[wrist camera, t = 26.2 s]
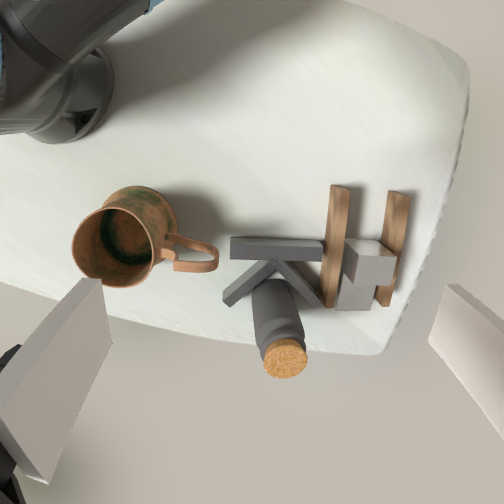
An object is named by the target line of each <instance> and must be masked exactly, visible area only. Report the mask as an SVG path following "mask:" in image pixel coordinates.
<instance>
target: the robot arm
mask: <svg viewBox="0 0 504 504" xmlns="http://www.w3.org/2000/svg"><path fill="white" fill-rule="evenodd" d="M162 1H164V0H0V135H3V134H14V133H26V134H28V135H29V136H31V137H33V138H34V139H36V140H38V141H40V142H43V143H47V144H63V143H69V142H72V141H75V140H77V139H79V138H81V137H83V136H84V135H86V134H87V133H88V132H89V131H91V130H92V129H93V128H94V127H95V126H96V124H97V123H98V122H99V121H100V119H101V118H102V116H103V115H104V113H105V111H106V109H107V107H108V105H109V102H110V99H111V95H112V91H113V71H112V67H111V64H110V61H109V59H108V58H107V56H106V55H105V53H104V52H103V51H102V50H101V49H99V48H98V47H99V46H100V45H101V44H102V43H104V42H105V41H106V40H108V39H109V38H110V37H112V36H113V35H114V34H116V33H117V32H118V31H120V30H121V29H122V28H124V27H125V26H127V25H128V24H130V23H131V22H133V21H134V20H135V19H137V18H138V17H140V16H141V15H146V14H148V13H149V12H150V11H151V10H152V9H153V7H155V6H156V5H158V4H159V3H161V2H162ZM428 342H429V344H430V345H431V346H432V347H433V348H434V350H435V351H436V352H437V353H438V354H439V356H440V357H441V358H442V359H443V361H444V362H445V363H446V364H447V366H448V367H449V368H450V369H451V371H452V372H453V373H454V374H455V376H456V377H457V378H458V379H459V381H460V382H461V383H462V385H463V386H464V387H465V388H466V390H467V391H468V392H469V394H470V395H471V396H472V398H473V399H474V400H475V401H476V403H477V404H478V406H479V407H480V408H481V410H482V411H483V412H484V414H485V415H486V416H487V418H488V419H489V421H490V422H491V423H492V425H493V426H494V428H495V429H496V430H497V432H498V433H499V435H500V436H501V438H502V439H503V440H504V321H503V320H502V319H501V318H500V317H499V316H498V315H496V314H495V313H494V312H492V311H491V310H490V309H489V308H488V307H487V306H485V305H484V304H483V303H482V302H480V301H479V300H478V299H477V298H476V297H474V296H473V295H472V294H471V293H469V292H468V291H467V290H465V289H464V288H463V287H462V286H460V285H459V284H450V285H445V289H444V293H443V296H442V299H441V303H440V306H439V309H438V312H437V315H436V318H435V321H434V324H433V327H432V330H431V333H430V336H429V339H428ZM111 345H112V339H111V334H110V329H109V324H108V318H107V313H106V307H105V301H104V295H103V289H102V282H101V279H93V278H82V279H81V280H80V281H79V282H78V283H77V284H76V285H75V286H74V287H73V288H72V289H71V291H70V292H69V293H68V294H67V295H66V296H65V297H64V298H63V299H62V300H61V301H60V302H59V304H58V305H57V306H56V307H55V308H54V309H53V310H52V311H51V312H50V313H49V315H48V316H47V317H46V318H45V319H44V320H43V322H42V323H41V324H40V325H39V326H38V327H37V329H36V330H35V331H34V332H33V333H32V334H31V335H30V337H29V338H28V339H27V340H26V341H25V343H24V344H23V345H19V344H17V345H16V346H14V347H13V348H12V349H10V350H8V351H7V352H5V353H4V355H3V356H2V357H1V358H0V504H26V503H25V500H24V497H23V494H22V492H21V489H20V486H19V483H18V480H17V478H16V476H15V475H14V473H13V471H14V468H15V466H16V464H17V465H18V467H19V468H20V469H21V470H22V472H23V473H24V474H25V475H26V476H28V477H30V478H33V479H35V480H38V481H40V482H43V483H46V484H50V481H51V478H52V476H53V473H54V470H55V468H56V465H57V463H58V460H59V458H60V455H61V453H62V451H63V448H64V446H65V443H66V441H67V439H68V436H69V434H70V432H71V429H72V427H73V425H74V422H75V420H76V418H77V416H78V413H79V411H80V409H81V407H82V404H83V403H84V401H85V398H86V396H87V394H88V392H89V390H90V388H91V385H92V384H93V381H94V379H95V377H96V375H97V373H98V371H99V369H100V367H101V365H102V363H103V361H104V359H105V357H106V355H107V353H108V351H109V349H110V347H111Z"/></svg>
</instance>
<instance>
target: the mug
mask: <svg viewBox="0 0 504 504" xmlns="http://www.w3.org/2000/svg"><path fill="white" fill-rule="evenodd" d="M175 243H177V244H180V245H182V246H184V247H187V248H190V249H194V250H199V251H203V252H206V253H209V254H211V255H212V256H213V257H214V260H211V261H203V262H198V261H182V260H178V254H177V253H176V252H175V251H173V250H172V248H173V246H174V244H175ZM72 256H73V259H74V261H75V263H76V265H77V266H78V268H79V269H80V270H81V271H82V273H83V274H85V275H86V276H87V277H88V278H93V279H101V282H102V285H104V286H107V287H112V288H128V287H133V286H136V285H138V284H140V283H141V282H143V281H144V280H145V279H146V278H147V276H148V275H149V273H150V271H151V269H152V268H153V266H154V265H156V264H158V263H159V262H161V261H162V260H164V259H165V258H166V259H170V260H172V261H173V262H174V263H173V270H174V271H181V272H197V273H202V272H211V271H214V270H215V269H217V267H218V262H219V251H218V249H217V248H216V247H215V246H213V245H211V244H209V243H206V242H201V241H197V240H192V239H189V238H186V237H183V236H181V235H178V234H177V222H176V218H175V215H174V212H173V210H172V208H171V206H170V205H169V203H168V202H167V201H166V200H165V199H164V198H163V197H162V196H161V195H160V194H158V193H157V192H155V191H153V190H151V189H149V188H145V187H140V186H131V187H126V188H123V189H120V190H118V191H116V192H115V193H113V194H112V195H111V196H110V197H109V198H108V199H107V200H106V201H105V203H104V204H103V206H102V208H101V209H99V210H97V211H95V212H93V213H91V214H90V215H89V216H87V217H86V218H85V219H84V220H83V221H82V222H81V224H80V225H79V227H78V228H77V230H76V232H75V234H74V237H73V240H72Z"/></svg>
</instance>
